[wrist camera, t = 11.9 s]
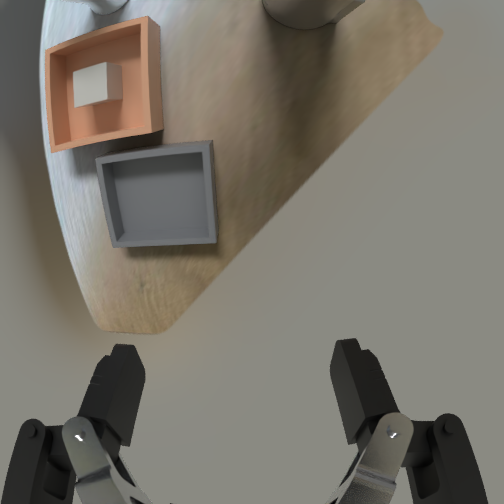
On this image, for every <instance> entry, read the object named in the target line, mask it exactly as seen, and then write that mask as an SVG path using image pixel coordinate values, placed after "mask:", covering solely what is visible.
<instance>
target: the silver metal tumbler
mask: <svg viewBox="0 0 504 504" xmlns="http://www.w3.org/2000/svg"><path fill="white" fill-rule="evenodd" d="M61 1H66V2H73V3H80V4H85V5H88V6H89V7H90V8H91V9H92V11H93V12H95V13H96V14H100V15H106V14H110V13H113V12H115V11H117V10H118V9H120V8H121V7H122V6H123V5H124V4H125V3H126V2H127V1H128V0H61Z"/></svg>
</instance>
